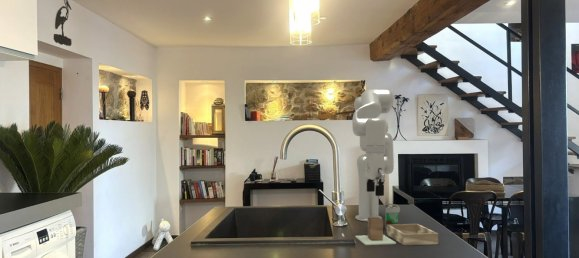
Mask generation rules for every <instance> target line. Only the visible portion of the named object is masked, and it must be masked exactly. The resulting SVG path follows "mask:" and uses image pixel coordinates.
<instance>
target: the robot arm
mask: <svg viewBox="0 0 579 258" xmlns="http://www.w3.org/2000/svg"><path fill="white" fill-rule="evenodd" d="M393 104H394V94H393V92H392V91H391V90H390V89H388V88H377V89H376V88H375V89H374V88H371V89H370V88H369V89H365V90H364V91H363V92H362V94H361V96H358V97H356V98H355V100H354V103H353V105H354V113H353V115H352V121H351V122H352V127H351V128H352V132H353V134H354V135H355V136H357V137H359V148H360V150H361V151H363V152H365V153H364V154H361V155H359V156H358V157H357V159H356V167H357V175H358V214H356V215H355V217H354V219H355V220H357V221H361V222H368V217H379V218H381V219H383V216H380V215H379V204H380V203H379V197H384V196H385V179H386V178H385V177H386V175H390V174H392V173H393V171H394V165H395V163H394V159H395V158H394V140H393V136H392V135H391V134H390V133H389V124H388V122H387V120H386V119H385V118H382V117H379V116H380V115H381V114H389V112H390V111H391V108H393V106H394V105H393Z"/></svg>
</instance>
